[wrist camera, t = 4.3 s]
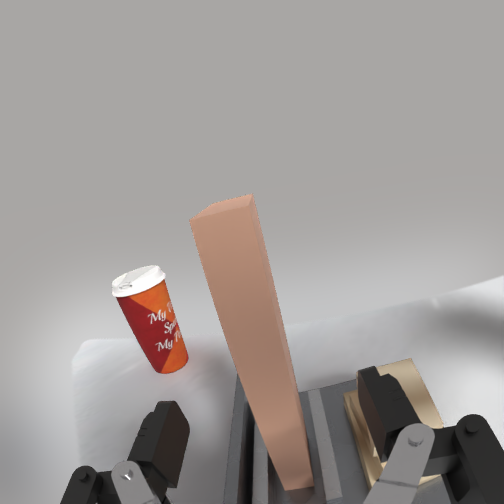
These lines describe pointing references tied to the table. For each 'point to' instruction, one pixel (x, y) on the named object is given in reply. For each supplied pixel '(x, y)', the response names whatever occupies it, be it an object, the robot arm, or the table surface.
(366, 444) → the offcut stack
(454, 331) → the table surface
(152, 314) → the paper cup
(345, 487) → the rack
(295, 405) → the pink rectangular bar
